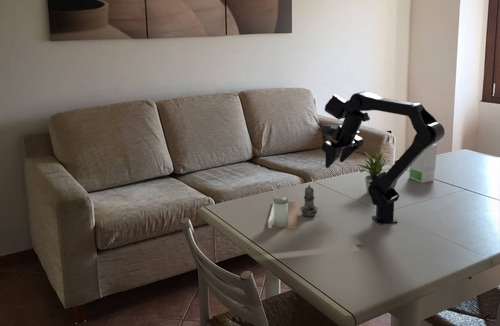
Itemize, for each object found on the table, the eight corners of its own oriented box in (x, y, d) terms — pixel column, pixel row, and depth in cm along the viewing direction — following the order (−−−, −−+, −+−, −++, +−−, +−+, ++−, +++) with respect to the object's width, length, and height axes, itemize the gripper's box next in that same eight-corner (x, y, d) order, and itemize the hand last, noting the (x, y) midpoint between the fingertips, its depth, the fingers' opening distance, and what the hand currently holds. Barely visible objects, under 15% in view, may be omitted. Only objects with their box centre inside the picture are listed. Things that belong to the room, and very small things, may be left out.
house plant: (362, 184, 219) (364, 145, 214) (396, 189, 212) (398, 148, 208) (349, 194, 207) (351, 152, 203) (385, 199, 200) (387, 156, 196)
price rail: (277, 204, 198) (277, 196, 197) (271, 231, 174) (271, 222, 174) (274, 204, 198) (274, 196, 198) (267, 231, 175) (267, 222, 174)
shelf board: (300, 205, 197) (300, 202, 197) (296, 232, 173) (296, 228, 173) (275, 204, 198) (275, 201, 198) (268, 231, 174) (268, 228, 174)
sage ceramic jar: (290, 226, 175) (289, 200, 172) (275, 228, 174) (275, 201, 171) (286, 221, 179) (286, 195, 177) (272, 222, 178) (271, 196, 176)
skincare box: (408, 178, 225) (410, 141, 221) (420, 175, 228) (423, 139, 224) (422, 183, 218) (425, 145, 214) (435, 181, 221) (438, 143, 216)
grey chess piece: (306, 213, 189) (306, 180, 185) (321, 217, 185) (321, 184, 182) (297, 219, 184) (296, 185, 181) (311, 222, 181) (311, 188, 177)
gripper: (346, 110, 193) (330, 147, 200) (316, 119, 179) (300, 158, 187) (371, 126, 187) (354, 163, 195) (342, 136, 174) (325, 175, 182)
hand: (333, 164), depth 190 cm, fingers open, 9 cm apart
